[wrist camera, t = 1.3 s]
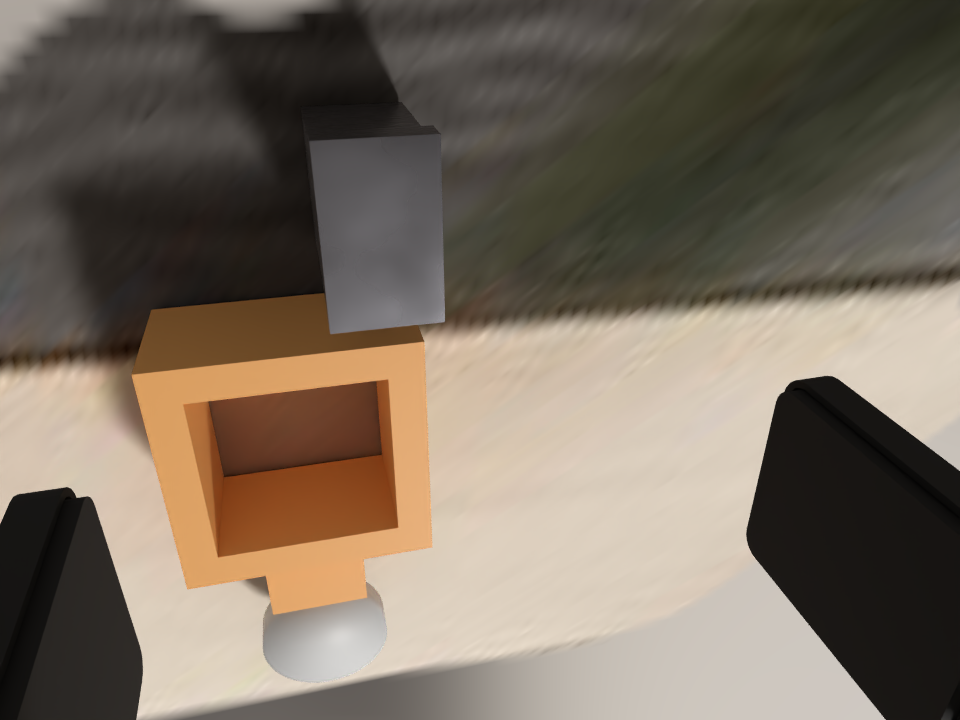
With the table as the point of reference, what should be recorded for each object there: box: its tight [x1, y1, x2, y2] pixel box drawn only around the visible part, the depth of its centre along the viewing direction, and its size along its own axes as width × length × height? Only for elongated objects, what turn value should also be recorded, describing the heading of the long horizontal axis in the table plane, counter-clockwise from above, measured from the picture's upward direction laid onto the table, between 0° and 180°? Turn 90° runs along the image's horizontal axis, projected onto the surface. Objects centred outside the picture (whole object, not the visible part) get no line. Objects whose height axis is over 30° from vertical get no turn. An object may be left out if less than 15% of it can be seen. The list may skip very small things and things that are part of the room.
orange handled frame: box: [131, 293, 432, 683], centre depth 29 cm, size 17×9×4 cm, turn 0°
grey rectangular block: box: [301, 102, 445, 334], centre depth 22 cm, size 3×5×6 cm, turn 0°
